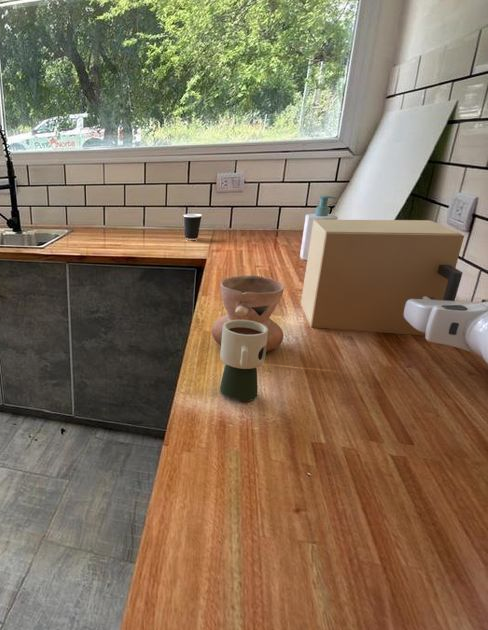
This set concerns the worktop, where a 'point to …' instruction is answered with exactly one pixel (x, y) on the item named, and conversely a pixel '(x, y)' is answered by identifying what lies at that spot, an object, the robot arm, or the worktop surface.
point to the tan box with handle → (383, 279)
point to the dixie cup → (192, 225)
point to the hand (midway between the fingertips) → (455, 301)
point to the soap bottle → (320, 215)
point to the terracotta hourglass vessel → (251, 305)
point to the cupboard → (354, 227)
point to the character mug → (242, 357)
